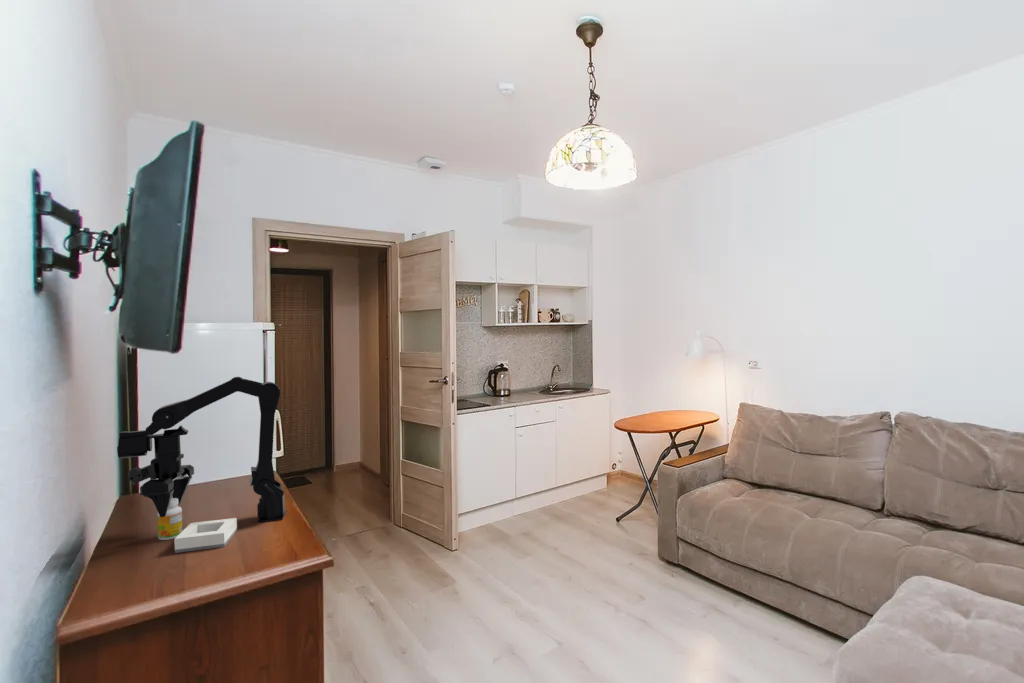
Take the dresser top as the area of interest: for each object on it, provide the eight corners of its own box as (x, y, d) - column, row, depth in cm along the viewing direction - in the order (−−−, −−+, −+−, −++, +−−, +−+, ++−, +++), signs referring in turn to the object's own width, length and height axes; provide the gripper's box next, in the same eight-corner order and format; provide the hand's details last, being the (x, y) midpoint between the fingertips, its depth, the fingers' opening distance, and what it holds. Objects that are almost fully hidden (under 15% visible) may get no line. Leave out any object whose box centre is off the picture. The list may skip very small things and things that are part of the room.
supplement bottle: (154, 538, 130) (152, 502, 130) (175, 531, 135) (174, 496, 135) (165, 542, 128) (163, 505, 128) (186, 534, 133) (185, 498, 132)
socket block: (237, 530, 134) (236, 517, 134) (224, 546, 124) (224, 532, 124) (191, 535, 131) (191, 522, 131) (174, 553, 121) (174, 538, 121)
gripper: (149, 448, 138) (151, 503, 138) (114, 464, 120) (116, 527, 120) (193, 444, 141) (195, 498, 141) (166, 460, 123) (168, 521, 123)
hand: (170, 510), depth 131 cm, fingers open, 9 cm apart
